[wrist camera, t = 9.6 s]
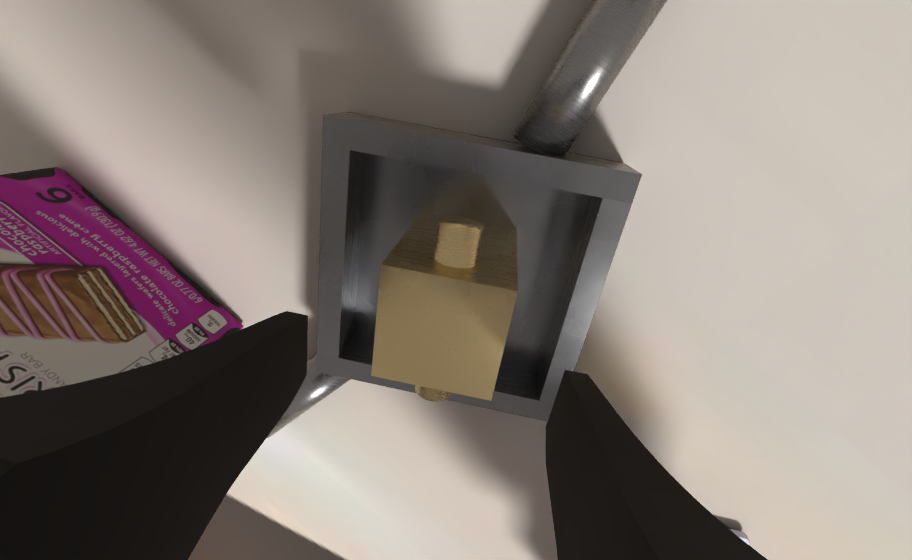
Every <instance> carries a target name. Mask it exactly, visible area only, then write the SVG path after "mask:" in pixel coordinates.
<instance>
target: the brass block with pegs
mask: <svg viewBox="0 0 912 560" xmlns="http://www.w3.org/2000/svg"><path fill="white" fill-rule="evenodd" d="M517 293H518V270H517V229H512V228H507V227H501V226H496V225H491V224H485V223H480V222H478V221H476V220H473V219H470V218H466V217H460V216H443V215H438V214H432V213H427V212H421V213H420V215H419V216H418V217H417V218H416V220H415V221H414V222H413V224H412V225H411V226H410V228H409V229H408V230H407V231H406V233H405V234H404V235H403V237H402V238H401V239H400V240H399V242H398V243H397V244H396V246H395V247H394V248H393V250H392V251H391V252H390V253H389V255H388V256H387V257H386V259H385V260H384V261H383V262H382V264H381V269H380V280H379V292H378V303H377V315H376V326H375V337H374V349H373V360H372V372H371V376H375V377H379V378H384V379H389V380H394V381H399V382H403V383H408V384H413V385H415V390H416V392H417V393H418V395H419V396H421V397H422V398H424V399H426V400H430V401H443V400H445V399H447V398H449V397H450V396H451V394H452V393H456V394H461V395H466V396H470V397H475V398H480V399H485V400H490V401H491V400H492V396H493V392H494V388H495V384H496V380H497V376H498V371H499V367H500V363H501V359H502V355H503V351H504V347H505V343H506V338H507V334H508V330H509V326H510V322H511V318H512V314H513V310H514V306H515V301H516V297H517Z"/></svg>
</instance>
